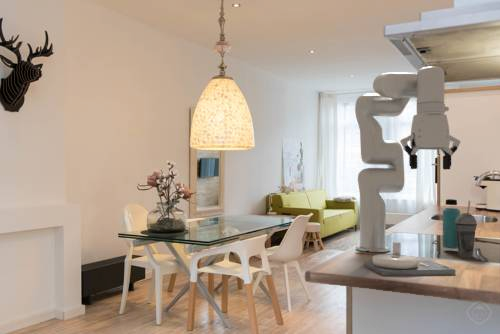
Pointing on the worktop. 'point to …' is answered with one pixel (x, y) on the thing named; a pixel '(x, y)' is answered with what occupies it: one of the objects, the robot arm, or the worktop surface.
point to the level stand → (413, 269)
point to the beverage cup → (465, 233)
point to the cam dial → (395, 259)
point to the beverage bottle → (450, 225)
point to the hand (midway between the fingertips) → (430, 169)
